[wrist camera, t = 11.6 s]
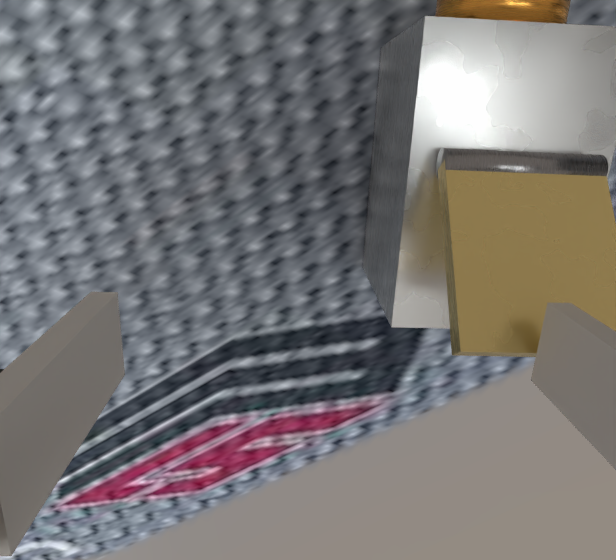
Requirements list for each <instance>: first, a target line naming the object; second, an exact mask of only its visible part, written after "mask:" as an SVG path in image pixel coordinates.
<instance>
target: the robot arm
mask: <svg viewBox="0 0 616 560" xmlns="http://www.w3.org/2000/svg"><path fill="white" fill-rule="evenodd" d="M124 375H125V372H124V360H123V349H122V338H121V326H120V315H119V304H118V292H90V293H89V294H88V295H87V296H86V297H85V298H84V299H83V300H81V301H80V302H79V303H78V304H77V305H76V306H75V307H74V308H72V309H71V310H70V311H69V312H68V313H67V314H66V315H65V316H63V317H62V318H61V319H60V320H59V321H58V322H57V323H56V324H55V325H53V326H52V327H51V328H50V329H49V330H48V331H47V332H46V333H44V334H43V335H42V336H41V337H40V338H39V339H38V340H37V341H35V342H34V343H33V344H32V345H31V346H30V347H29V348H28V349H26V350H25V351H24V352H23V353H22V354H21V355H20V356H19V357H18V358H16V359H15V360H14V361H13V362H12V363H11V364H10V365H9V366H7V367H6V368H5V369H0V556H12V554H13V553H14V551H15V549H16V548H17V546H18V545H19V543H20V541H21V540H22V538H23V537H24V535H25V533H26V532H27V530H28V529H29V527H30V525H31V524H32V522H33V521H34V519H35V517H36V516H37V514H38V513H39V511H40V509H41V508H42V506H43V505H44V503H45V501H46V500H47V498H48V497H49V495H50V493H51V492H52V490H53V489H54V487H55V485H56V484H57V482H58V481H59V479H60V477H61V476H62V474H63V473H64V471H65V469H66V468H67V466H68V465H69V463H70V461H71V460H72V458H73V457H74V455H75V453H76V452H77V450H78V449H79V447H80V445H81V444H82V442H83V441H84V439H85V437H86V436H87V434H88V433H89V431H90V429H91V428H92V426H93V425H94V423H95V421H96V420H97V418H98V417H99V415H100V413H101V412H102V410H103V409H104V407H105V405H106V404H107V402H108V401H109V399H110V397H111V396H112V394H113V393H114V391H115V389H116V388H117V386H118V385H119V383H120V381H121V380H122V378H123V377H124ZM531 381H532V382H533V383H534V384H535V385H536V386H537V387H538V388H539V389H540V390H541V391H542V392H543V393H544V395H545V396H546V397H547V398H548V399H549V400H550V401H551V402H552V403H553V404H554V405H555V406H556V407H557V408H558V409H559V410H560V412H562V414H563V415H564V416H565V417H566V418H567V419H568V420H569V421H570V422H571V423H572V424H573V425H574V426H575V427H576V428H577V429H578V431H579V432H580V433H581V434H582V435H583V436H584V437H585V438H586V439H587V440H588V441H589V442H590V443H591V444H592V445H593V446H594V447H595V449H596V450H597V451H598V452H599V453H600V454H601V455H602V456H603V457H604V458H605V459H606V460H607V461H608V462H609V463H610V464H611V465H612V466H613V468H614V469H615V470H616V331H614V330H612V329H611V328H609V327H608V326H606V325H605V324H603V323H601V322H600V321H598V320H597V319H595V318H594V317H592V316H591V315H589V314H587V313H586V312H584V311H583V310H581V309H580V308H578V307H576V306H575V305H573V304H572V303H547V307H546V312H545V317H544V321H543V326H542V331H541V335H540V340H539V345H538V349H537V354H536V359H535V363H534V368H533V373H532V377H531Z"/></svg>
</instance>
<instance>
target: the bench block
mask: <svg viewBox="0 0 616 560" xmlns="http://www.w3.org/2000/svg"><path fill="white" fill-rule="evenodd" d="M615 146H616V27H612V26H594V25H577V24H559V23H541V22H524V21H506V20H489V19H471V18H453V17H436V16H425V17H423V18H422V19H420V20H419V21H417V22H416V23H415V24H413V25H412V26H410V27H409V28H408V29H406V30H405V31H403V32H402V33H401V34H399V35H398V36H396V37H395V38H394V39H392V40H391V41H389V42H388V43H387V44H385V45H384V46H382V47H381V53H380V65H379V77H378V89H377V101H376V113H375V125H374V137H373V149H372V161H371V173H370V185H369V197H368V209H367V220H366V232H365V244H364V256H363V270H364V272H365V274H366V276H367V278H368V280H369V282H370V284H371V286H372V288H373V290H374V292H375V294H376V296H377V299H378V301H379V303H380V305H381V307H382V309H383V311H384V313H385V315H386V317H387V319H388V321H389V323H390V325H391V327H406V328H450V322H449V309H448V296H447V283H446V270H445V257H444V244H443V231H442V218H441V205H440V192H439V181H438V179H437V176H436V163H437V158H438V154H439V152H440V150H441V149H442V148H456V149H479V150H503V151H527V152H550V153H574V154H597V155H604V156H605V157H606V158H607V161H608V173H607V179H608V175H609V171H610V167H611V163H612V158H613V154H614V150H615Z"/></svg>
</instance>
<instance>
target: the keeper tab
mask: <svg viewBox="0 0 616 560" xmlns="http://www.w3.org/2000/svg"><path fill="white" fill-rule="evenodd" d="M607 173H608V161H607V158H606V157H605V156H604V155H597V154H574V153H550V152H527V151H503V150H479V149H456V148H442V149H441V150H440V152H439V154H438V158H437V163H436V176H437V179H438V181H439V192H440V205H441V218H442V231H443V244H444V257H445V270H446V283H447V296H448V309H449V322H450V335H451V348H452V355H465V356H516V357H536V354H537V349H538V345H539V340H540V335H541V331H542V326H543V321H544V317H545V312H546V307H547V303H572V304H573V305H575V306H576V307H578V308H580V309H581V310H583V311H584V312H586V313H587V314H589V315H591V316H592V317H594V318H595V319H597V320H598V321H600V322H601V323H603V324H605V325H606V326H608V327H609V328H611V329H612V330H614V331H616V223H615V218H614V212H613V207H612V202H611V197H610V192H609V186H608V181H607Z"/></svg>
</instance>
